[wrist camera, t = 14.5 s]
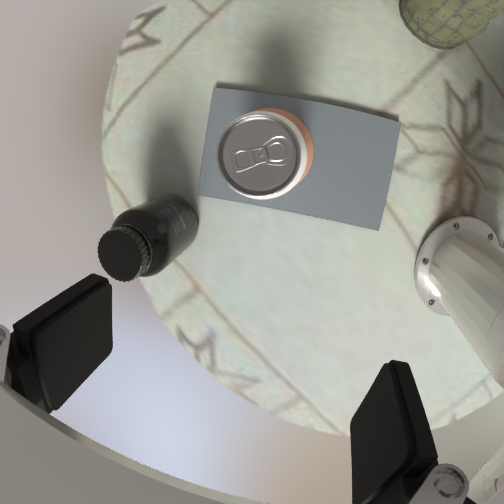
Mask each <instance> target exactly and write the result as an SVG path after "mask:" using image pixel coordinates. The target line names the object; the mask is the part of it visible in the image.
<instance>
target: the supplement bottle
mask: <svg viewBox="0 0 504 504" xmlns="http://www.w3.org/2000/svg"><path fill="white" fill-rule="evenodd" d="M197 230H198V221H197V217H196V214H195V212H194V210H193V208H192V207H191V206H190V205H189V204H188V203H187V202H186V201H185V200H183V199H181V198H179V197H176V196H170V195H169V196H162V197H159V198H156V199H154V200H151V201H148V202H146V203H143V204H141V205H138V206H136V207H133V208H131V209H129V210H126V211H125V212H123V213H121V214H120V215H119V216H118V217H117V218H116V219H115V221H114V223H113V225H112V227H111V230H109V231H107V232H106V233H105V234H103V236H102V238H101V239H100V242H99V246H98V257H99V259H100V263H101V264H102V267H103V268H104V270H105V271H106V272H107V273H108V274H109V275H110V276H111V277H112V278H114V279H116V280H119V281H123V282H126V281H128V282H129V281H131V280H134V279H135V278H137V277H138V276H140V277H149V276H153V275H156V274H158V273H159V272H161V271H162V270H163V269H164V268H165V267H167V266H168V265H169V264H170V263H171V262H172V261H173V260H174V259H176V258H177V257H178V256H179V255H180V254H181V253H182V252H183V251H185V250H186V249H187V248H188V247H189V246H190V245H191V244H192V242H193V241H194V239H195V237H196V235H197Z"/></svg>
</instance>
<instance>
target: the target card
mask: <svg viewBox="0 0 504 504" xmlns="http://www.w3.org/2000/svg"><path fill="white" fill-rule="evenodd" d="M255 111H268V112H273V113H277V114H279V115H282V116H283V117H285V118H287V119H288V120H290V121H291V122H292V123H293V124H294V125H295V126H296V127H297V128H298V129H299V131H300V132H301V134H302V136H303V138H304V141H305V144H306V148H307V163H306V167H305V170H304V173H303V175H302V177H301V178H300V180H299V181H298V183H297V184H296V185H295V186H294V187H293V188H292V189H291V190H289V191H288V192H286V193H285V194H283V195H281V196H278V197H275V198H271V199H253V198H249V197H246V196H243V195H241V194H240V193H238V192H236V191H235V190H234V189H232V188H231V187H230V186H229V185H228V184H227V182H226V181H225V180H224V178H223V177H222V175H221V173H220V171H219V168H218V164H217V156H216V154H217V146H218V142H219V140H220V137H221V136H222V134H223V132H224V130H225V129H226V128H227V127H228V125H229V124H230V123H231V122H233V121H234V120H235V119H237V118H238V117H240V116H242V115H244V114H247V113H250V112H255ZM400 124H401V122H397V121H394V120H390V119H387V118H383V117H380V116H376V115H372V114H369V113H365V112H361V111H357V110H353V109H348V108H344V107H340V106H335V105H331V104H326V103H321V102H316V101H311V100H305V99H300V98H294V97H288V96H281V95H275V94H268V93H260V92H252V91H244V90H234V89H223V88H213V94H212V100H211V106H210V112H209V118H208V125H207V131H206V138H205V144H204V151H203V158H202V165H201V173H200V180H199V188H198V195H200V196H206V197H212V198H218V199H224V200H230V201H235V202H241V203H246V204H252V205H257V206H262V207H268V208H273V209H278V210H283V211H288V212H293V213H298V214H303V215H308V216H313V217H318V218H322V219H327V220H332V221H336V222H341V223H346V224H350V225H355V226H359V227H364V228H368V229H372V230H377V231H379V227H380V223H381V219H382V215H383V211H384V206H385V202H386V198H387V193H388V189H389V184H390V179H391V174H392V169H393V164H394V159H395V153H396V148H397V142H398V136H399V130H400Z"/></svg>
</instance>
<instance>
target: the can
mask: <svg viewBox="0 0 504 504" xmlns="http://www.w3.org/2000/svg"><path fill="white" fill-rule="evenodd" d="M216 156H217V164H218V168H219V171H220V173H221V175H222V177H223V178H224V180H225V181H226V182H227V184H228V185H229V186H230V187H231V188H232V189H234V190H235V191H236V192H238V193H240V194H241V195H243V196H246V197H249V198H253V199H271V198H275V197H278V196H281V195H283V194H285V193H286V192H288V191H289V190H291V189H292V188H293V187H294V186H295V185H296V184H297V183H298V181H299V180H300V178H301V177H302V175H303V173H304V170H305V167H306V163H307V148H306V144H305V141H304V138H303V136H302V134H301V132H300V131H299V129H298V128H297V127H296V126H295V125H294V124H293V123H292V122H291V121H290V120H288V119H287V118H285V117H283V116H282V115H279V114H277V113H273V112H268V111H255V112H250V113H247V114H244V115H242V116H240V117H238V118H237V119H235V120H234V121H233V122H231V123H230V124H229V125H228V127H227V128H226V129H225V130H224V132H223V134H222V136H221V137H220V140H219V142H218V146H217V154H216Z"/></svg>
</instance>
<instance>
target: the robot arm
mask: <svg viewBox="0 0 504 504" xmlns="http://www.w3.org/2000/svg"><path fill="white" fill-rule="evenodd" d="M454 224H455V225H454ZM423 258H425V259H424V260H423ZM415 284H416V289H417V291H418V294H419V296H420V298H421V299H422V301H423V302H424V304H425V305H426V306H427V307H428V308H429V309H430V310H432V311H433V312H435V313H437V314H439V315H443V316H450V317H451V318H452V319H453V321H454V322H455V323H456V325H457V326H458V328H459V329H460V330H461V332H462V333H463V334H464V336H465V337H466V339H467V340H468V342H469V343H470V344H471V346H472V347H473V349H474V350H475V352H476V353H477V355H478V356H479V358H480V359H481V360H482V362H483V364H484V365H485V366H486V368H487V369H488V371H489V372H490V374H491V375H492V377H493V378H494V380H495V381H496V382H497V383H498V384H499V385H500V386H501V387H502V388H504V248H502V247H500V246H499V242H498V239H497V237H496V235H495V233H494V232H493V230H492V229H491V228H490V227H489V226H488V225H487V224H486V223H484V222H483V221H481V220H479V219H476V218H473V217H470V216H459V217H454V218H451V219H449V220H446V221H445V222H443V223H442V224H440V225H439V226H437V227H436V228H435V229H434V230H433V231H432V232H431V233H430V235H429V236H428V237H427V239H426V240H425V241H424V243H423V245H422V247H421V249H420V251H419V254H418V257H417V260H416V265H415ZM13 329H14V332H12V333H11V334H10V332H9V330H8V329H7V328H6V327H5V326H3V325H1V324H0V504H268V503H263V502H259V501H254V500H249V499H246V498H242V497H238V496H233V495H230V494H226V493H223V492H219V491H216V490H212V489H209V488H206V487H203V486H199V485H196V484H193V483H190V482H187V481H184V480H182V479H179V478H176V477H173V476H171V475H168V474H165V473H163V472H160V471H158V470H155V469H153V468H151V467H148V466H146V465H143V464H141V463H139V462H137V461H134V460H132V459H130V458H128V457H126V456H123V455H121V454H119V453H117V452H115V451H113V450H111V449H109V448H107V447H105V446H103V445H101V444H99V443H97V442H95V441H94V440H92V439H90V438H88V437H86V436H84V435H83V434H81V433H79V432H77V431H76V430H74V429H72V428H71V427H69V426H67V425H66V424H64V423H62V422H61V421H59V420H57V419H56V418H54V417H53V416H51V415H49V414H50V413H51V412H52V411H53V410H58V409H59V408H60V407H61V406H62V405H63V404H64V403H65V402H66V400H67V399H68V398H69V397H70V396H71V395H72V394H73V393H74V392H75V391H76V389H78V387H79V386H80V385H81V384H82V383H83V382H84V381H85V380H86V379H87V378H88V377H89V376H90V375H91V374H92V373H93V371H94V370H95V369H96V368H97V367H98V366H99V365H100V364H101V363H102V362H103V361H104V360H105V359H106V358H107V357H108V356H109V354H110V353H111V351H112V348H113V340H112V339H113V337H112V286H111V284H109V281H108V279H107V278H105V277H102V276H99V275H97V274H90V275H89V276H87V277H85V278H84V279H82V280H81V281H79V282H77V283H76V284H74V285H73V286H71V287H69V288H68V289H66V290H65V291H63V292H62V293H60V294H59V295H57V296H55V297H54V298H52V299H51V300H49V301H48V302H46V303H44V304H43V305H42V306H40V307H38V308H37V309H35V310H34V311H32V312H31V313H29V314H28V315H26V316H25V317H23V318H22V319H21V320H19V321H17V322H16V323H15V324H13ZM350 434H351V457H352V504H504V445H503V446H502V447H501V448H500V449H499V450H498V451H497V452H496V454H495V455H494V456H493V457H492V458H491V459H490V460H489V461H488V462H487V463H486V464H485V465H484V466H483V467H482V468H481V469H480V471H479V472H478V473H477V474H476V475H475V476H474V478H473V479H472V480H471V482H470V483H469V482H468V479H467V477H466V475H465V474H464V472H463V471H462V470H461V469H459V468H458V467H456V466H454V465H452V464H447V463H446V464H440V465H439V464H438V461H437V458H438V455H437V451H436V448H435V444H434V440H433V437H432V434H431V430H430V427H429V423H428V420H427V417H426V413H425V410H424V407H423V404H422V401H421V398H420V395H419V392H418V389H417V386H416V383H415V380H414V377H413V375H412V372H411V369H410V366H409V364H408V363H406V362H401V361H396V360H391V361H390V362H389V363H385V364H384V365H383V366H382V368H381V370H380V372H379V374H378V375H377V377H376V379H375V381H374V383H373V384H372V386H371V388H370V390H369V391H368V393H367V395H366V396H365V398H364V400H363V401H362V403H361V405H360V406H359V408H358V410H357V411H356V413H355V414H354V416H353V418H352V420H351V424H350Z"/></svg>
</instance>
